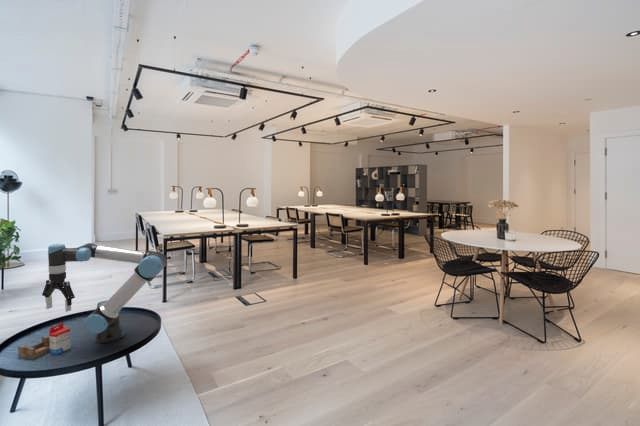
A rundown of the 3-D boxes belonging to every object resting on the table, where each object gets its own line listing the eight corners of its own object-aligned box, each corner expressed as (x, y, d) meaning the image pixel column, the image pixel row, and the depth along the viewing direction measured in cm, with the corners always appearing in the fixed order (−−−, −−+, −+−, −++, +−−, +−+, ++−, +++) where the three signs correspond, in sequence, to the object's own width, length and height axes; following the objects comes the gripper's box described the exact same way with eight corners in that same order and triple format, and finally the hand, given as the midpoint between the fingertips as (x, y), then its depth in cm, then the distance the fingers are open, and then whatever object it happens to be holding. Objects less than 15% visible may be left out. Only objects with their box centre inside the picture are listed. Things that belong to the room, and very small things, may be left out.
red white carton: (56, 355, 185) (55, 329, 184) (49, 354, 186) (48, 328, 185) (71, 347, 193) (70, 323, 192) (64, 346, 194) (63, 322, 193)
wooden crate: (58, 348, 192) (57, 338, 192) (33, 360, 179) (32, 349, 179) (44, 346, 195) (43, 336, 194) (18, 357, 182) (18, 346, 181)
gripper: (81, 272, 187) (82, 309, 189) (47, 268, 193) (48, 304, 195) (68, 276, 180) (70, 314, 181) (33, 271, 186) (34, 309, 187)
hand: (58, 309), depth 188 cm, fingers open, 13 cm apart
